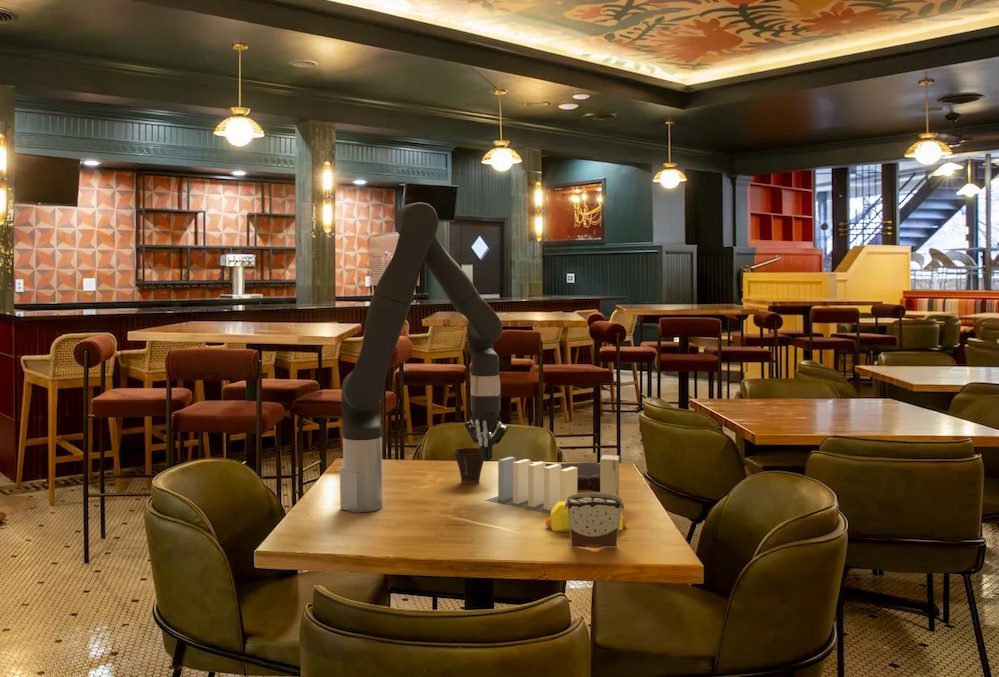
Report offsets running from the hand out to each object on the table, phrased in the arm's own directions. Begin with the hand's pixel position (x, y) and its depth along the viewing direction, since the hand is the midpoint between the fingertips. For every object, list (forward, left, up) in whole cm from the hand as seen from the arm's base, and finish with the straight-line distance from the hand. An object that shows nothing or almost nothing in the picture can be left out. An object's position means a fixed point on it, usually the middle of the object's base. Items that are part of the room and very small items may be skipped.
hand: (486, 460), depth 214 cm
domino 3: (0, -16, -9) cm, 18 cm away
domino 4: (0, -21, -9) cm, 22 cm away
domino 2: (0, -11, -9) cm, 14 cm away
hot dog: (-9, -36, -10) cm, 38 cm away
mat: (0, -16, -9) cm, 19 cm away
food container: (-16, -42, -9) cm, 46 cm away
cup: (+7, +11, -9) cm, 16 cm away
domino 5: (0, -25, -9) cm, 27 cm away
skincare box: (+11, -30, -9) cm, 33 cm away
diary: (+22, -8, -10) cm, 25 cm away
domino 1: (0, -7, -9) cm, 11 cm away
